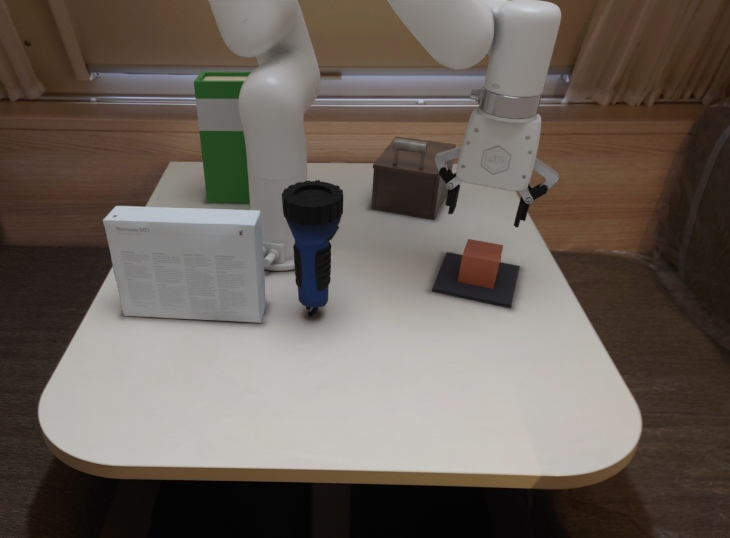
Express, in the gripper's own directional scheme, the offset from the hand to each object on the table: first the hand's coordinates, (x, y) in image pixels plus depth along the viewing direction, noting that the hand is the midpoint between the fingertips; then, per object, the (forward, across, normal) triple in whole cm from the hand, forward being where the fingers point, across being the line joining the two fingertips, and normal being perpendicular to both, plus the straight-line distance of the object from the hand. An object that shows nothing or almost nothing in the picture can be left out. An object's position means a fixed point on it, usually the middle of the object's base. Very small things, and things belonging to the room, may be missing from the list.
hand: (483, 216), depth 87 cm
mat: (+11, +1, 0) cm, 11 cm away
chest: (+12, -16, +26) cm, 33 cm away
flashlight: (+12, -20, -19) cm, 30 cm away
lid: (+3, -16, +26) cm, 31 cm away
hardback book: (+13, -47, +15) cm, 51 cm away
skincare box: (+13, -37, -24) cm, 46 cm away
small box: (+11, +1, 0) cm, 11 cm away
